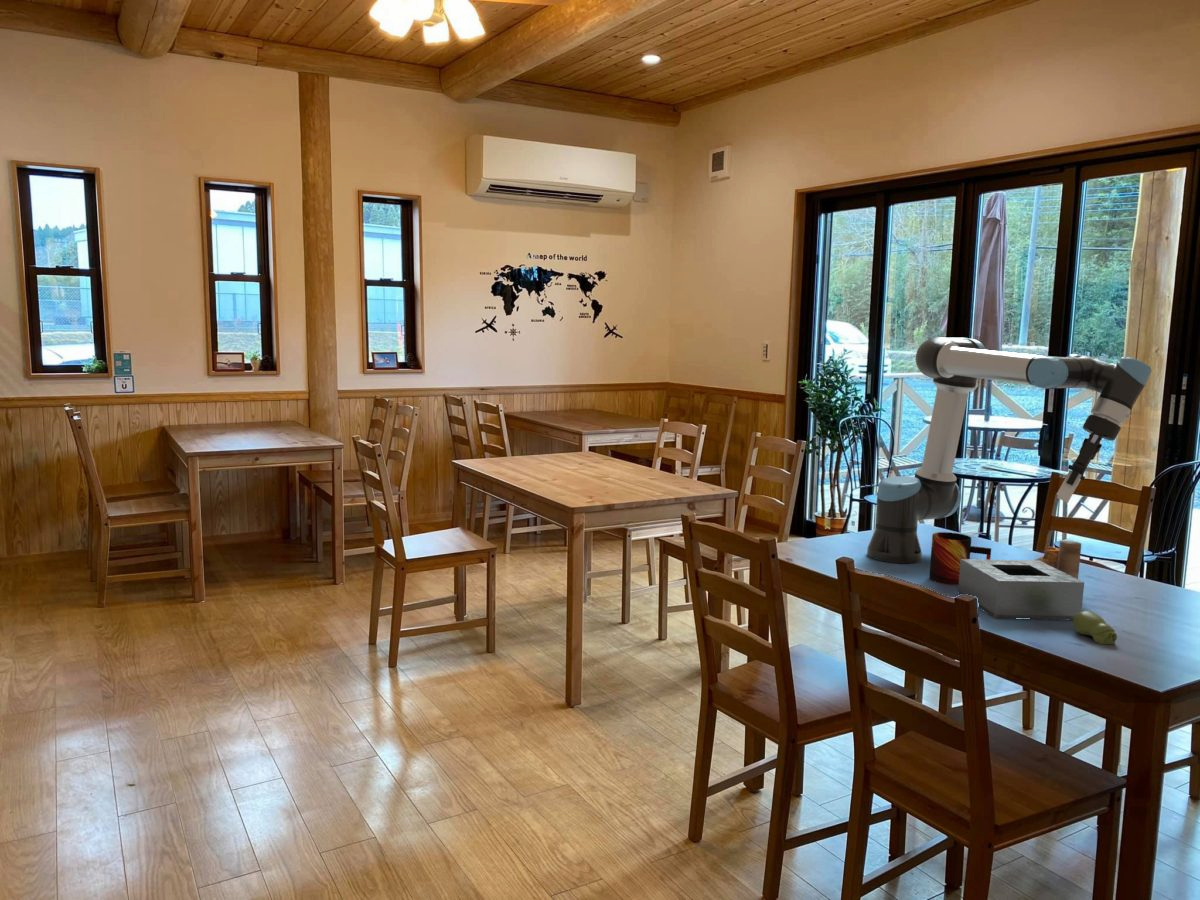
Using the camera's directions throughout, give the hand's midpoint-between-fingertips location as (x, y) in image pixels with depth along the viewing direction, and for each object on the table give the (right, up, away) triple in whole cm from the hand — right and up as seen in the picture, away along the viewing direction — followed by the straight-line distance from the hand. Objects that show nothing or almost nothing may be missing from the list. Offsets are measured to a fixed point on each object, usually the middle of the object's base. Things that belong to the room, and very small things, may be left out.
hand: (1062, 498), depth 217 cm
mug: (-17, -23, +21) cm, 36 cm away
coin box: (-12, -26, -1) cm, 29 cm away
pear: (-5, -29, -23) cm, 38 cm away
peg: (+5, -25, +8) cm, 27 cm away
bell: (+13, -23, +32) cm, 42 cm away
